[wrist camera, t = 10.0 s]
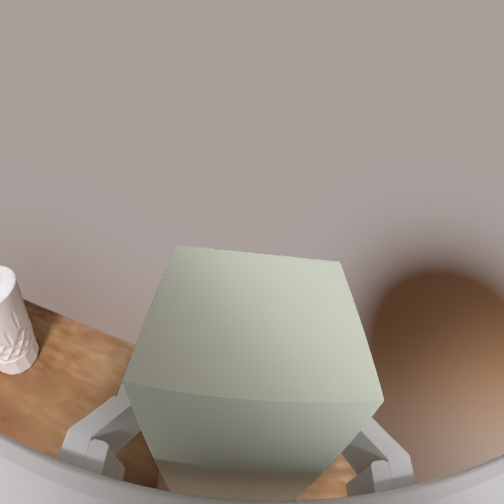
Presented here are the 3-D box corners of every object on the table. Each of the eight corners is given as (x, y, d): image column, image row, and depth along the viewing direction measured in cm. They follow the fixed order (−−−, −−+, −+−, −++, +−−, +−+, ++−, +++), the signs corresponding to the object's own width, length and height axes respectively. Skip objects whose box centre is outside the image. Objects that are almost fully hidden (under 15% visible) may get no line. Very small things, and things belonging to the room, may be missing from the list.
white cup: (52, 335, 32) (27, 268, 26) (30, 386, 25) (-8, 319, 20) (6, 326, 30) (-21, 263, 25) (-18, 371, 24) (-56, 307, 19)
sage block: (178, 506, 11) (122, 381, 5) (189, 428, 16) (176, 245, 9) (278, 514, 11) (384, 400, 5) (277, 436, 16) (339, 261, 10)
